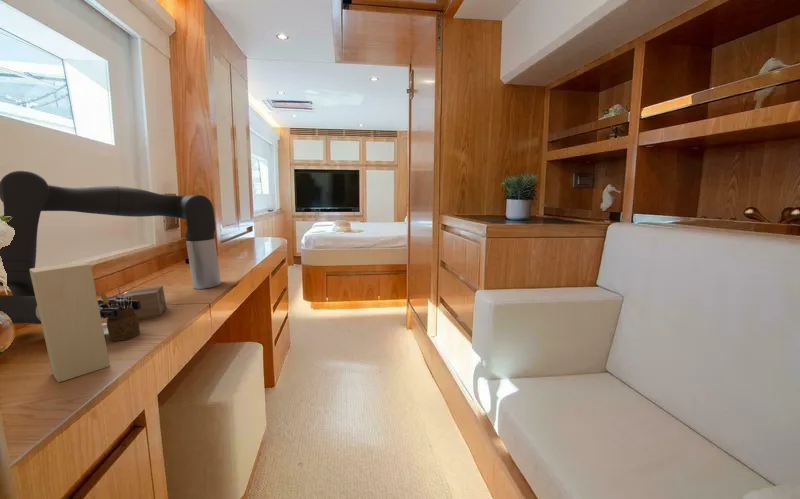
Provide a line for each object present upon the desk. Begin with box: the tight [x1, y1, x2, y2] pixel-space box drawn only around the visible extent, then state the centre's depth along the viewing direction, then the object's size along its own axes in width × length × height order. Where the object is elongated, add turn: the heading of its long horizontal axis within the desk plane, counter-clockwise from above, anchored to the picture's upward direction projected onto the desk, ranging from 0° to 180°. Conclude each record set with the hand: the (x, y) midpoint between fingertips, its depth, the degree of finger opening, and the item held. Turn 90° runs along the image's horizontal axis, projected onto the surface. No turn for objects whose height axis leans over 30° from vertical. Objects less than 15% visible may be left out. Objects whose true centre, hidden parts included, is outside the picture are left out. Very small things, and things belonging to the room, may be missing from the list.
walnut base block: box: [123, 285, 168, 321], centre depth 102 cm, size 8×8×7 cm
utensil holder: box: [98, 289, 141, 342], centre depth 86 cm, size 6×6×12 cm
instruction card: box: [102, 322, 109, 336], centre depth 92 cm, size 10×7×1 cm
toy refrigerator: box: [30, 261, 111, 383], centre depth 69 cm, size 8×7×21 cm
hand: (129, 308), depth 85 cm, fingers closed on utensil holder, 5 cm apart
